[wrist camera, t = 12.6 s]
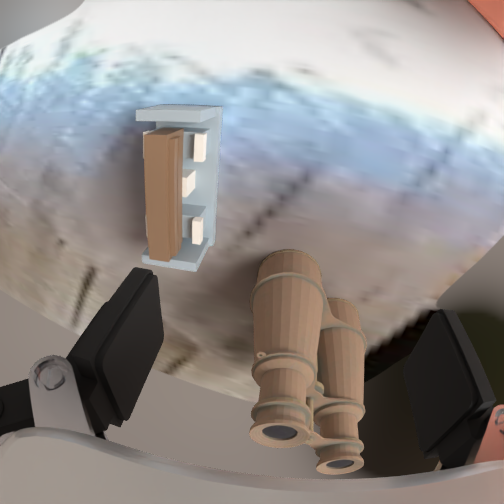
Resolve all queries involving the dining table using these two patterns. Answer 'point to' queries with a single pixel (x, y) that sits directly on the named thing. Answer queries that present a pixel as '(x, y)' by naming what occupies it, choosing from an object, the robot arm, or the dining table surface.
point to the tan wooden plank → (163, 191)
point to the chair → (491, 13)
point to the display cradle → (192, 176)
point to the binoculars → (306, 363)
